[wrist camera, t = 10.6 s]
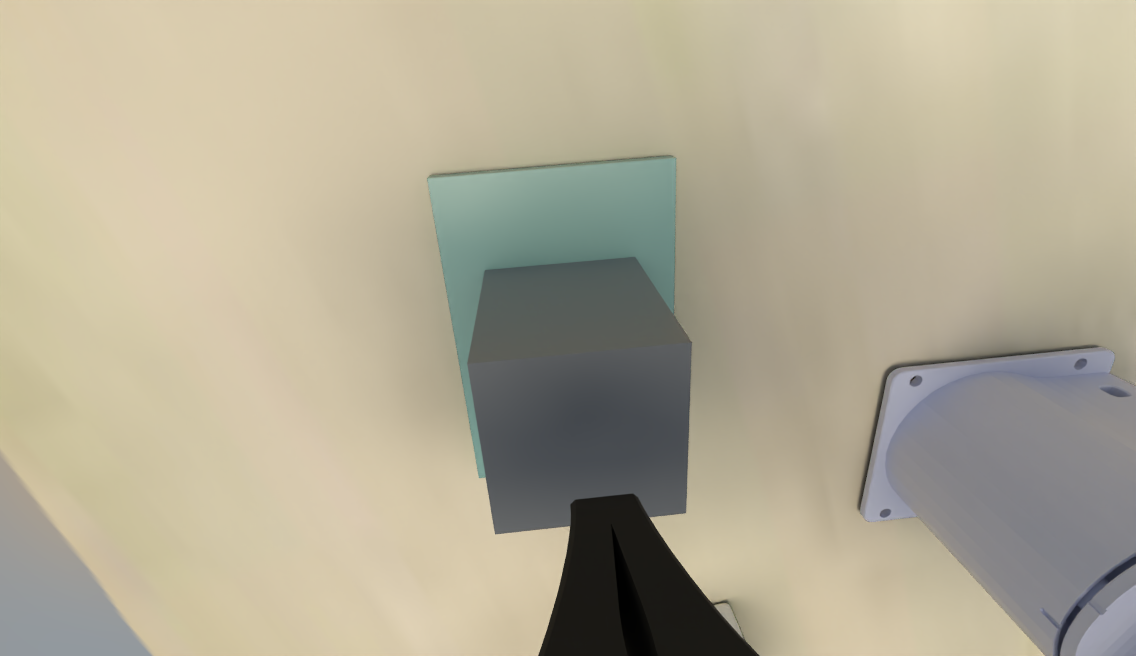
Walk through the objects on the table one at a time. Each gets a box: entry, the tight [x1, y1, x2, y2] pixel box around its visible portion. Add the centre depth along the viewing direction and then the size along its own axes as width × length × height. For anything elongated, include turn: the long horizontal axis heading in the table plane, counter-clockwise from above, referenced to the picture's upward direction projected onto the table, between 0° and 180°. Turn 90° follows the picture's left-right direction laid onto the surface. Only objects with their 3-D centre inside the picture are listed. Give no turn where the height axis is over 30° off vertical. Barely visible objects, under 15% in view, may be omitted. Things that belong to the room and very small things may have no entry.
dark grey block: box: [467, 257, 692, 534], centre depth 17 cm, size 5×5×7 cm
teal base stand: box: [427, 156, 676, 478], centre depth 18 cm, size 8×12×6 cm, turn 4°
